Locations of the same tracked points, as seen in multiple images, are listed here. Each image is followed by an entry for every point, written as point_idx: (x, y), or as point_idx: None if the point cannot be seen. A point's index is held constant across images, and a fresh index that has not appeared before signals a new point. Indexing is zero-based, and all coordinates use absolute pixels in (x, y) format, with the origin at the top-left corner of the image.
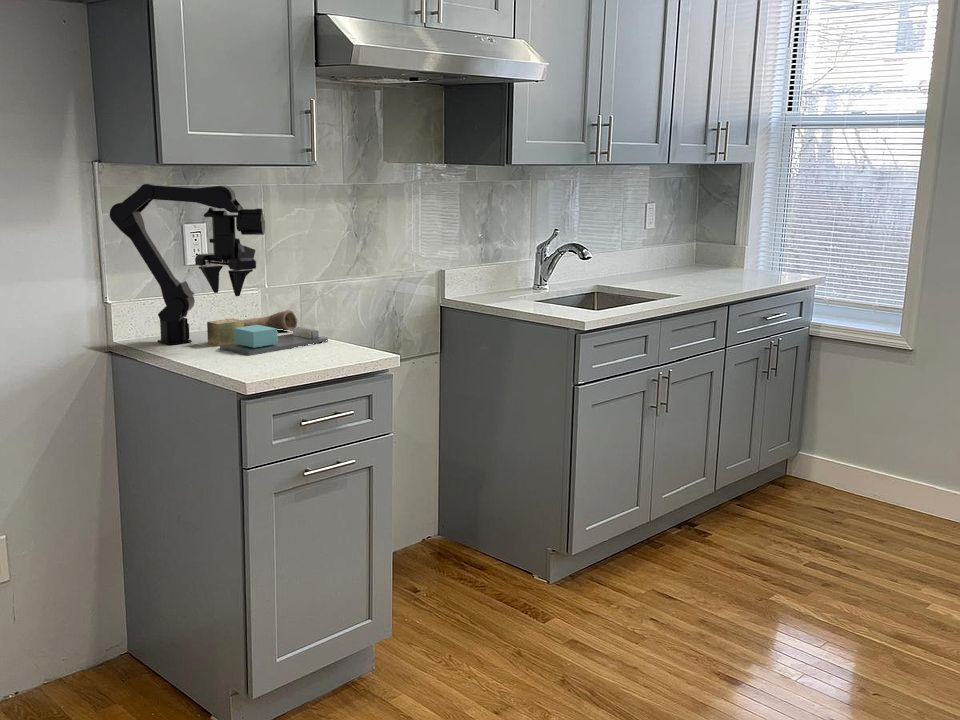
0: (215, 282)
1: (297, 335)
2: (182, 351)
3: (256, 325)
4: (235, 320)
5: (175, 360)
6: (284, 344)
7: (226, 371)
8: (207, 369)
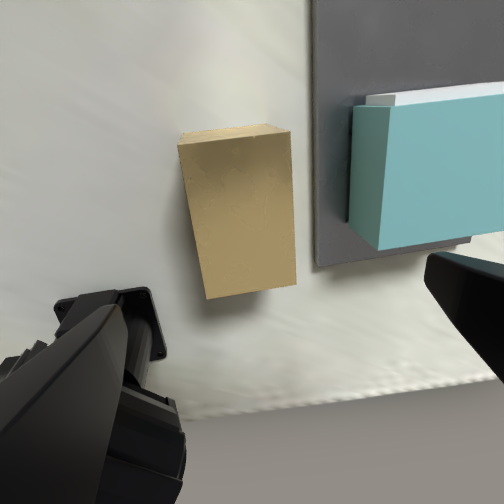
0: (87, 407)
1: None
2: (271, 353)
3: (403, 125)
4: (256, 170)
5: (357, 395)
6: (493, 59)
7: None
8: (483, 373)
